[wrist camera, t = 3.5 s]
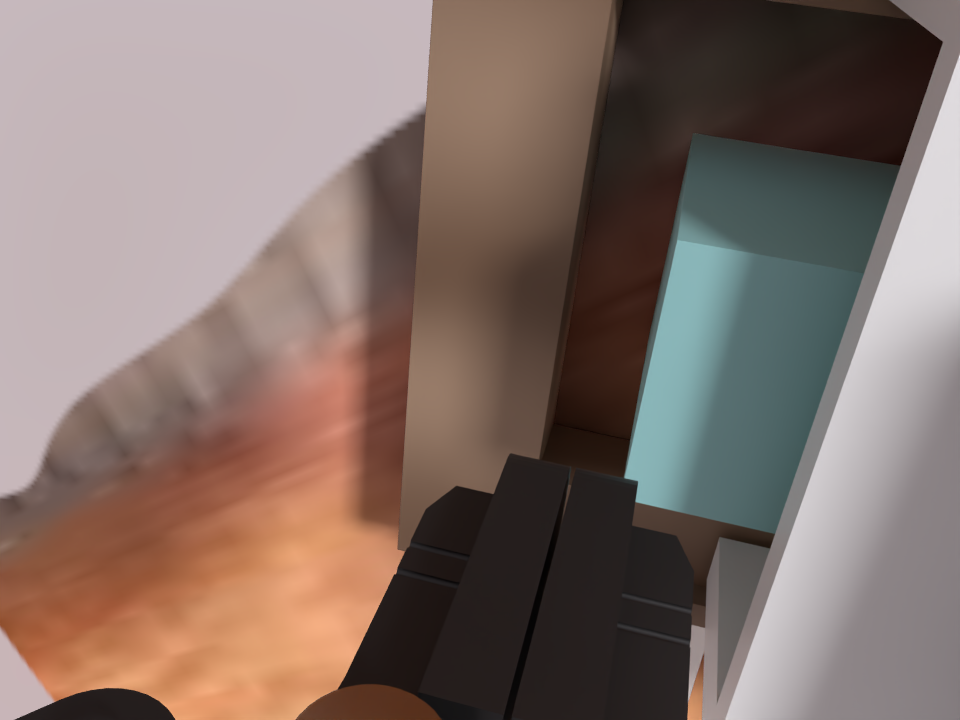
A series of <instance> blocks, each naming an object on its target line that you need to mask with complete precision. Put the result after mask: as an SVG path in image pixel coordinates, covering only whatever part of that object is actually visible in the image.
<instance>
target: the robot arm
mask: <svg viewBox="0 0 960 720" xmlns="http://www.w3.org/2000/svg"><path fill="white" fill-rule="evenodd" d="M570 472H571V466H566V465H562V464H557V463H553V462H548V461H543V460H539V459H534V458H530V457H525V456H521V455H516V454H512V453H510V454H509V456H508V458H507V460H506V463H505V465H504V468H503V471H502V473H501V476H500V479H499V481H498V484H497V486H496V489H495V492H494V494H491V493H487V492H482V491H478V490H474V489H469V488H465V487H460V486H455V487H454V488H453V489H451V490H450V491H449V492H447V493H446V494H445V495H443V496H442V497H441V498H439V499H438V500H437V501H436V502H434V503H433V504H432V505H430V506H429V507H428V508H426V510H425V512H424V514H423V516H422V518H421V520H420V522H419V524H418V526H417V528H416V530H415V533H414V535H413V537H412V539H411V541H410V546H409V547H407V549H406V551H405V553H404V555H403V558H402V560H401V562H400V564H399V566H398V569H397V573H396V575H395V574H394V576H393V578H392V580H391V582H390V585H389V587H388V589H387V591H386V593H385V595H384V597H383V599H382V601H381V603H380V605H379V607H378V610H377V612H376V614H375V616H374V618H373V620H372V622H371V624H370V626H369V628H368V630H367V632H366V635H365V637H364V639H363V641H362V643H361V645H360V647H359V649H358V651H357V653H356V655H355V657H354V659H353V662H352V664H351V666H350V668H349V670H348V672H347V674H346V676H345V678H344V680H343V681H342V683H341V685H340V686H339V688H338V689H337V690H336V691H333V692H331V693H329V694H327V695H325V696H323V697H321V698H319V699H318V700H316V701H315V702H314V703H312V704H311V705H309V706H308V707H307V708H306V709H305V710H304V711H303V712H302V713H301V714H300V715H299V716H298V717H297V719H296V720H687V713H688V691H689V670H690V649H691V648H690V641H691V627H692V616H691V613H692V606H693V584H694V570H693V568H692V566H691V564H690V562H689V560H688V558H687V556H686V554H685V552H684V550H683V548H682V546H681V544H680V542H679V540H678V538H677V536H676V535H672V534H667V533H663V532H658V531H654V530H650V529H645V528H641V527H637V526H632V522H633V515H634V508H635V502H636V495H637V488H638V481H635V480H631V479H626V478H622V477H617V476H613V475H608V474H604V473H599V472H595V471H590V470H586V469H581V468H576V470H575V473H574V477H573V481H572V485H571V489H570V493H569V497H568V500H567V504H566V508H565V512H564V507H565V501H566V496H567V490H568V485H569V479H570ZM563 512H564V516H563ZM562 518H563V520H562ZM15 720H175V718H174V717H173V715H172V714H171V713H170V711H169V710H168V709H167V708H166V707H165V706H164V705H163V704H162V703H160V702H159V701H158V700H156V699H154V698H152V697H151V696H149V695H146V694H143V693H140V692H138V691H134V690H128V689H119V688H105V689H97V690H90V691H86V692H82V693H78V694H74V695H72V696H69V697H66V698H64V699H61V700H59V701H56V702H54V703H52V704H50V705H47V706H45V707H43V708H40V709H38V710H36V711H34V712H31V713H29V714H27V715H25V716H22V717H20V718H17V719H15Z"/></svg>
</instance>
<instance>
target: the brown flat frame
mask: <svg viewBox="0 0 960 720" xmlns="http://www.w3.org/2000/svg"><path fill="white" fill-rule="evenodd" d="M768 1H775V2H783V3H791V4H798V5H806V6H813V7H821V8H828V9H836V10H844V11H851V12H859V13H866V14H874V15H882V16H889V17H897V18H904V19H912V20H914V19H913V18H912V17H910V16H909V15H908V14H906V13H905V12H904V11H903V10H901V9H900V8H899V7H897V6H896V5H895V4H894V3H892V2H891V1H890V0H768ZM622 5H623V0H433V8H432V24H431V40H430V55H429V70H428V86H427V101H426V116H425V132H424V147H423V163H422V178H421V194H420V209H419V225H418V240H417V256H416V271H415V287H414V302H413V318H412V333H411V349H410V364H409V380H408V395H407V411H406V426H405V442H404V457H403V473H402V488H401V504H400V519H399V535H398V550H402V551H406V549H407V547H409V546H410V541H411V539H412V537H413V535H414V533H415V530H416V528H417V526H418V524H419V522H420V520H421V518H422V516H423V514H424V512H425V510H426V508H428V507H429V506H430V505H432V504H433V503H434V502H436V501H437V500H438V499H439V498H441V497H442V496H443V495H445V494H446V493H447V492H449V491H450V490H451V489H453V488H454V487H455V486H460V487H465V488H469V489H474V490H478V491H482V492H487V493H491V494H494V492H495V489H496V486H497V484H498V481H499V479H500V476H501V473H502V471H503V468H504V465H505V463H506V460H507V458H508V456H509V454H510V453H512V454H516V455H521V456H525V457H530V458H534V459H539V460H543V461H548V462H553V463H557V464H562V465H566V466H571V472H570V479H569V485H568V490H567V496H566V501H565V507H564V512H565V508H566V504H567V500H568V497H569V493H570V489H571V485H572V481H573V477H574V473H575V470H576V468H581V469H586V470H590V471H595V472H599V473H604V474H608V475H613V476H617V477H622V478H624V474H625V468H626V462H627V457H628V451H629V445H630V440H626V439H621V438H616V437H612V436H607V435H603V434H598V433H593V432H589V431H584V430H579V429H575V428H570V427H566V426H561V425H556V424H553V423H554V417H555V411H556V405H557V399H558V393H559V387H560V381H561V375H562V369H563V363H564V356H565V350H566V344H567V338H568V332H569V326H570V320H571V314H572V308H573V302H574V296H575V290H576V284H577V278H578V272H579V266H580V259H581V253H582V247H583V241H584V235H585V229H586V223H587V217H588V211H589V205H590V199H591V193H592V187H593V181H594V175H595V169H596V163H597V156H598V150H599V144H600V138H601V132H602V126H603V120H604V114H605V108H606V102H607V96H608V90H609V84H610V78H611V72H612V66H613V59H614V53H615V47H616V41H617V35H618V29H619V23H620V17H621V11H622ZM564 512H563V516H564ZM562 520H563V518H562ZM632 526H637V527H641V528H645V529H650V530H654V531H658V532H663V533H667V534H672V535H676V536H677V538H678V540H679V542H680V544H681V546H682V548H683V550H684V552H685V554H686V556H687V558H688V560H689V562H690V564H691V566H692V568H693V570H694V584H693V606H692V613H691V616H692V625H695V626H699V627H703V628H705V616H706V586H707V577H708V574H709V570H710V567H711V564H712V560H713V557H714V554H715V550H716V547H717V544H718V540H719V537H722V538H726V539H731V540H735V541H739V542H744V543H748V544H752V545H757V546H761V547H765V548H771V545H772V542H773V539H774V536H775V534H773V533H769V532H765V531H760V530H756V529H751V528H747V527H743V526H738V525H734V524H730V523H725V522H721V521H716V520H712V519H708V518H703V517H699V516H695V515H690V514H686V513H681V512H677V511H673V510H668V509H664V508H660V507H655V506H651V505H646V504H642V503H638V502H635V508H634V515H633V522H632Z"/></svg>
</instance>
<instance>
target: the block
mask: <svg viewBox="0 0 960 720" xmlns="http://www.w3.org/2000/svg"><path fill="white" fill-rule="evenodd" d="M900 167H901V166H899V165H892V164H886V163H880V162H873V161H867V160H861V159H854V158H848V157H842V156H835V155H829V154H823V153H817V152H810V151H804V150H798V149H791V148H785V147H779V146H772V145H766V144H760V143H753V142H747V141H741V140H734V139H728V138H722V137H715V136H709V135H703V134H696V133H693V136H692V140H691V145H690V149H689V154H688V159H687V163H686V168H685V172H684V177H683V182H682V186H681V191H680V195H679V200H678V205H677V209H676V214H675V219H674V223H673V228H672V232H671V237H670V242H669V246H668V251H667V255H666V260H665V265H664V269H663V274H662V278H661V283H660V288H659V292H658V297H657V301H656V306H655V311H654V315H653V320H652V324H651V329H650V334H649V339H648V344H647V350H646V356H645V361H644V367H643V372H642V378H641V384H640V389H639V395H638V401H637V406H636V412H635V417H634V423H633V429H632V434H631V440H630V445H629V451H628V457H627V462H626V468H625V474H624V478H626V479H631V480H635V481H638V488H637V495H636V502H638V503H642V504H646V505H651V506H655V507H660V508H664V509H668V510H673V511H677V512H681V513H686V514H690V515H695V516H699V517H703V518H708V519H712V520H716V521H721V522H725V523H730V524H734V525H738V526H743V527H747V528H751V529H756V530H760V531H765V532H769V533H773V534H775V533H776V530H777V527H778V524H779V521H780V518H781V515H782V513H783V510H784V507H785V504H786V501H787V498H788V495H789V492H790V489H791V486H792V483H793V480H794V477H795V474H796V472H797V469H798V466H799V463H800V460H801V457H802V454H803V451H804V448H805V445H806V442H807V439H808V436H809V433H810V430H811V428H812V425H813V422H814V419H815V416H816V413H817V410H818V407H819V404H820V401H821V398H822V395H823V392H824V389H825V387H826V384H827V381H828V378H829V375H830V372H831V369H832V366H833V363H834V360H835V357H836V354H837V351H838V348H839V346H840V343H841V340H842V337H843V334H844V331H845V328H846V325H847V322H848V319H849V316H850V313H851V310H852V307H853V305H854V302H855V299H856V296H857V293H858V290H859V287H860V284H861V281H862V278H863V275H864V272H865V269H866V266H867V264H868V261H869V258H870V255H871V252H872V249H873V246H874V243H875V240H876V237H877V234H878V231H879V228H880V225H881V223H882V220H883V217H884V214H885V211H886V208H887V205H888V202H889V199H890V196H891V193H892V190H893V187H894V184H895V182H896V179H897V176H898V173H899V170H900Z"/></svg>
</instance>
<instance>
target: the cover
mask: <svg viewBox="0 0 960 720" xmlns="http://www.w3.org/2000/svg"><path fill="white" fill-rule="evenodd" d="M890 1H891V2H892V3H894V4H895V5H896V6H897V7H899V8H900V9H901V10H903V11H904V12H905V13H906V14H908V15H909V16H910V17H912V18H913V19H914V20H915V21H917V22H918V23H919V24H921V25H922V26H923V27H925V28H926V29H927V30H928V31H930V32H931V33H932V34H934V35H935V36H936V37H937V38H939V39H940V40H941V41H943V44H942V47H941V50H940V53H939V56H938V58H937V61H936V64H935V67H934V70H933V73H932V76H931V79H930V82H929V85H928V88H927V91H926V94H925V97H924V100H923V102H922V105H921V108H920V111H919V114H918V117H917V120H916V123H915V126H914V129H913V132H912V135H911V138H910V141H909V143H908V146H907V149H906V152H905V155H904V158H903V161H902V164H901V167H900V170H899V173H898V176H897V179H896V182H895V184H894V187H893V190H892V193H891V196H890V199H889V202H888V205H887V208H886V211H885V214H884V217H883V220H882V223H881V225H880V228H879V231H878V234H877V237H876V240H875V243H874V246H873V249H872V252H871V255H870V258H869V261H868V264H867V266H866V269H865V272H864V275H863V278H862V281H861V284H860V287H859V290H858V293H857V296H856V299H855V302H854V305H853V307H852V310H851V313H850V316H849V319H848V322H847V325H846V328H845V331H844V334H843V337H842V340H841V343H840V346H839V348H838V351H837V354H836V357H835V360H834V363H833V366H832V369H831V372H830V375H829V378H828V381H827V384H826V387H825V389H824V392H823V395H822V398H821V401H820V404H819V407H818V410H817V413H816V416H815V419H814V422H813V425H812V428H811V430H810V433H809V436H808V439H807V442H806V445H805V448H804V451H803V454H802V457H801V460H800V463H799V466H798V469H797V472H796V474H795V477H794V480H793V483H792V486H791V489H790V492H789V495H788V498H787V501H786V504H785V507H784V510H783V513H782V515H781V518H780V521H779V524H778V527H777V530H776V533H775V536H774V539H773V542H772V545H771V548H765V547H761V546H757V545H752V544H748V543H744V542H739V541H735V540H731V539H726V538H722V537H719V540H718V544H717V547H716V550H715V554H714V557H713V560H712V564H711V567H710V570H709V574H708V577H707V586H706V616H705V646H704V676H703V707H702V720H960V0H890Z"/></svg>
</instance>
